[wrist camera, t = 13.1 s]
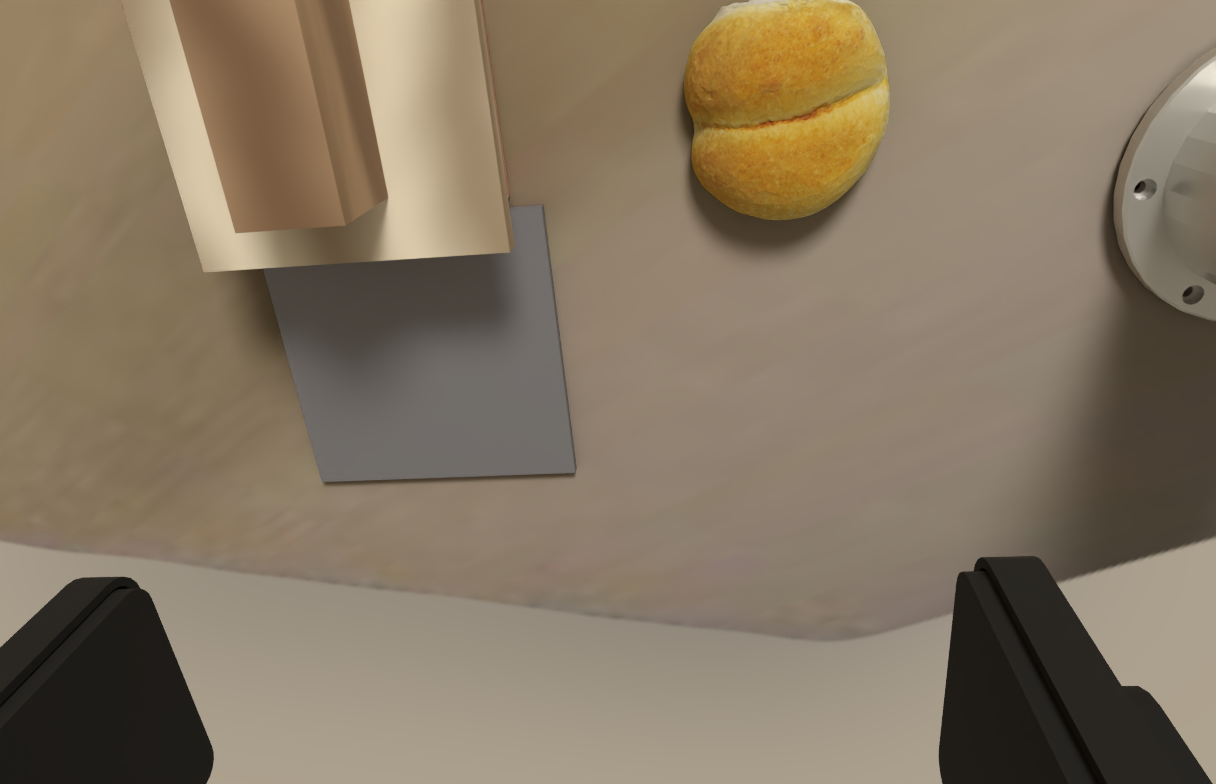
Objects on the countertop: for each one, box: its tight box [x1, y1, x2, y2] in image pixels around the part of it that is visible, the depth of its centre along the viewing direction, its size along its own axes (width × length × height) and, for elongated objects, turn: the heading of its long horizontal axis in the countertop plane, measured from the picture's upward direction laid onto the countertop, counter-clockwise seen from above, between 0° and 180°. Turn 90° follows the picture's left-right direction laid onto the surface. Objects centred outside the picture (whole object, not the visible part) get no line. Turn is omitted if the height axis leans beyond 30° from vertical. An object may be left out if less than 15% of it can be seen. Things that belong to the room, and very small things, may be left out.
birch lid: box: [121, 0, 515, 272], centre depth 29 cm, size 13×13×6 cm
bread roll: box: [684, 0, 890, 220], centre depth 34 cm, size 8×9×4 cm
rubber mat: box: [263, 205, 576, 482], centre depth 41 cm, size 14×14×1 cm
